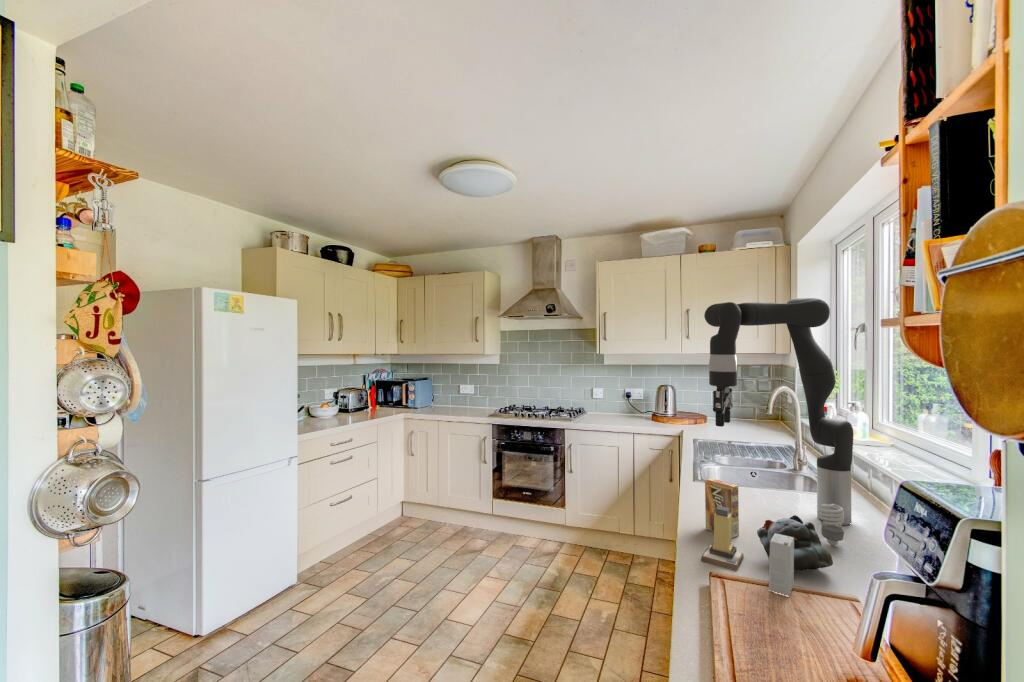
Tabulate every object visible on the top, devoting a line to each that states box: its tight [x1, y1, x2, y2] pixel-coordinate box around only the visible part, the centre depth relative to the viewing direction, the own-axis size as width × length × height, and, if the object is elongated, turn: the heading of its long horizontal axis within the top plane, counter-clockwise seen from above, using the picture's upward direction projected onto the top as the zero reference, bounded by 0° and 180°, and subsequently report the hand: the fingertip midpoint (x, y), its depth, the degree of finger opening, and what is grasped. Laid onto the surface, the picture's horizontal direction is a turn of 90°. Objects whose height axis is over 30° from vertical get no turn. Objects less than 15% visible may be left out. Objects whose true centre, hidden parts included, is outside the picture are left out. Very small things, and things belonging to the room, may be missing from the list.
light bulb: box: [820, 504, 845, 547], centre depth 129 cm, size 6×6×12 cm
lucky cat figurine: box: [756, 514, 834, 573], centre depth 117 cm, size 15×12×14 cm
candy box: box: [704, 478, 740, 539], centre depth 138 cm, size 9×4×15 cm, turn 33°
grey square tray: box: [700, 542, 745, 571], centre depth 120 cm, size 8×9×3 cm
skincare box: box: [768, 533, 795, 597], centre depth 105 cm, size 6×4×12 cm
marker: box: [713, 506, 732, 550], centre depth 121 cm, size 4×4×10 cm
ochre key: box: [712, 543, 735, 554], centre depth 121 cm, size 4×4×2 cm
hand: (723, 424), depth 133 cm, fingers open, 8 cm apart
